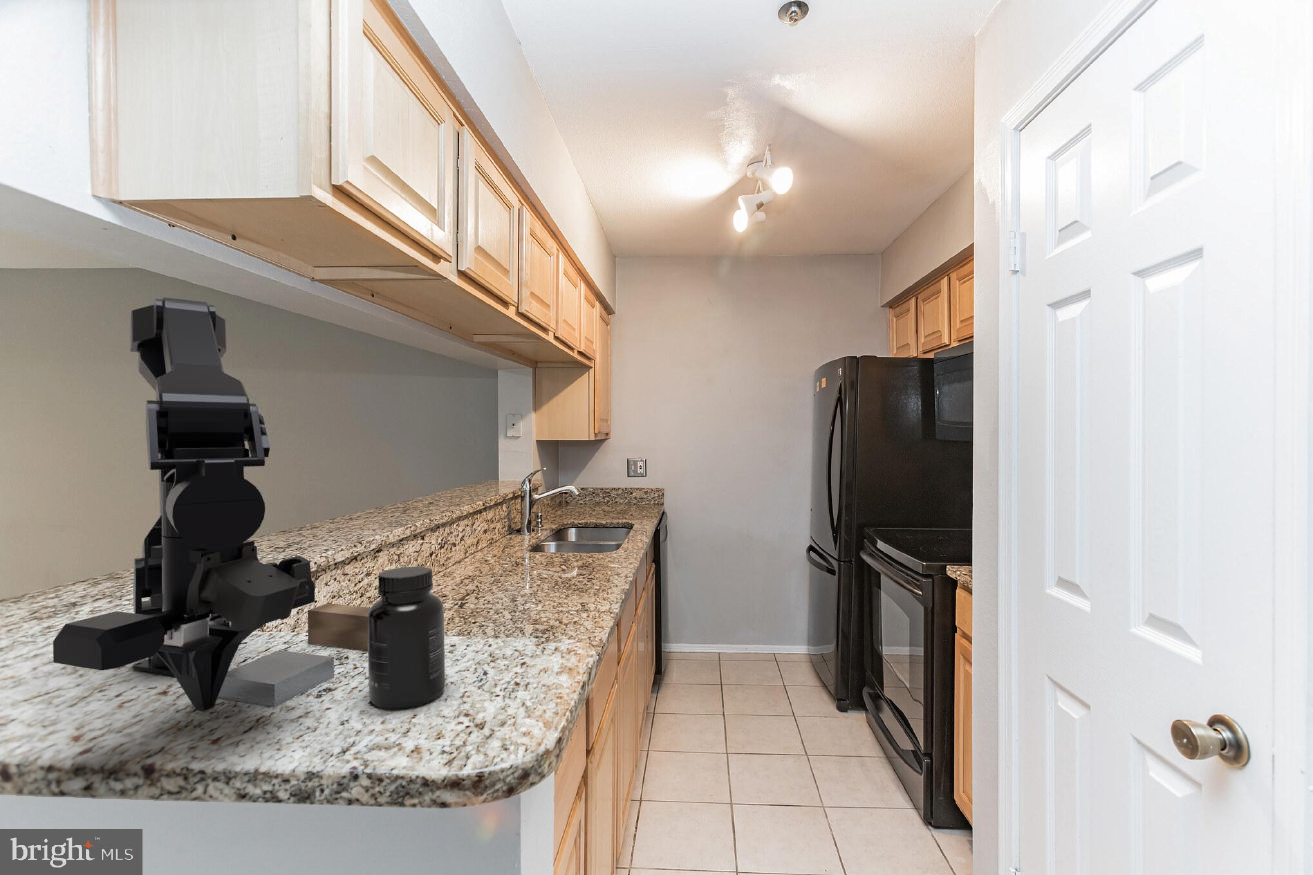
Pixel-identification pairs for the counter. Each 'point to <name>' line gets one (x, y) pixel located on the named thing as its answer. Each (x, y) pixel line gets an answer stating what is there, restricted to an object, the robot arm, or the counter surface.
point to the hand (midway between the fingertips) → (204, 709)
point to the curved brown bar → (339, 626)
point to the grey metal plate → (276, 677)
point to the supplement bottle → (405, 640)
